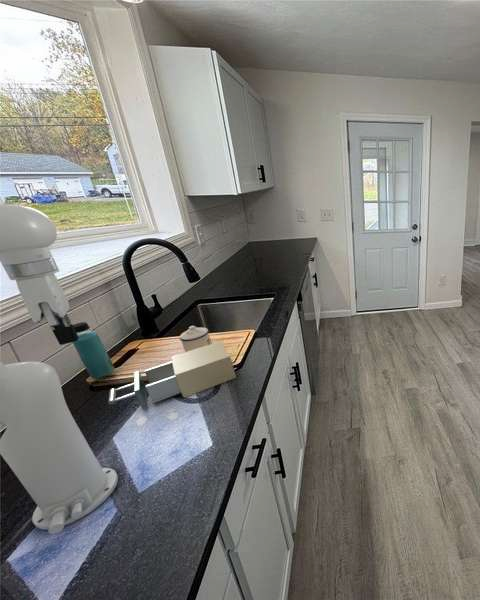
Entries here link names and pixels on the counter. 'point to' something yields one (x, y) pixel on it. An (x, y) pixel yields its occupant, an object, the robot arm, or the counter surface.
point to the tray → (151, 385)
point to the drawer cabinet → (202, 368)
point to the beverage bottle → (92, 352)
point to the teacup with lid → (195, 338)
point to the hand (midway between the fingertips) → (69, 341)
